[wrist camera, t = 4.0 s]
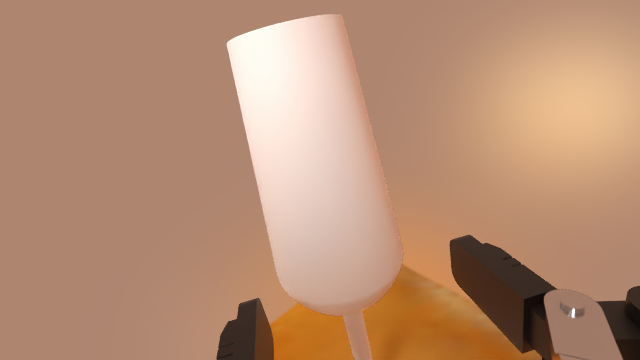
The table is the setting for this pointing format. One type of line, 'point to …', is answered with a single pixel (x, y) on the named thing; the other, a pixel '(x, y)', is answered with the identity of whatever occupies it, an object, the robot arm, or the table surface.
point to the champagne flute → (317, 169)
